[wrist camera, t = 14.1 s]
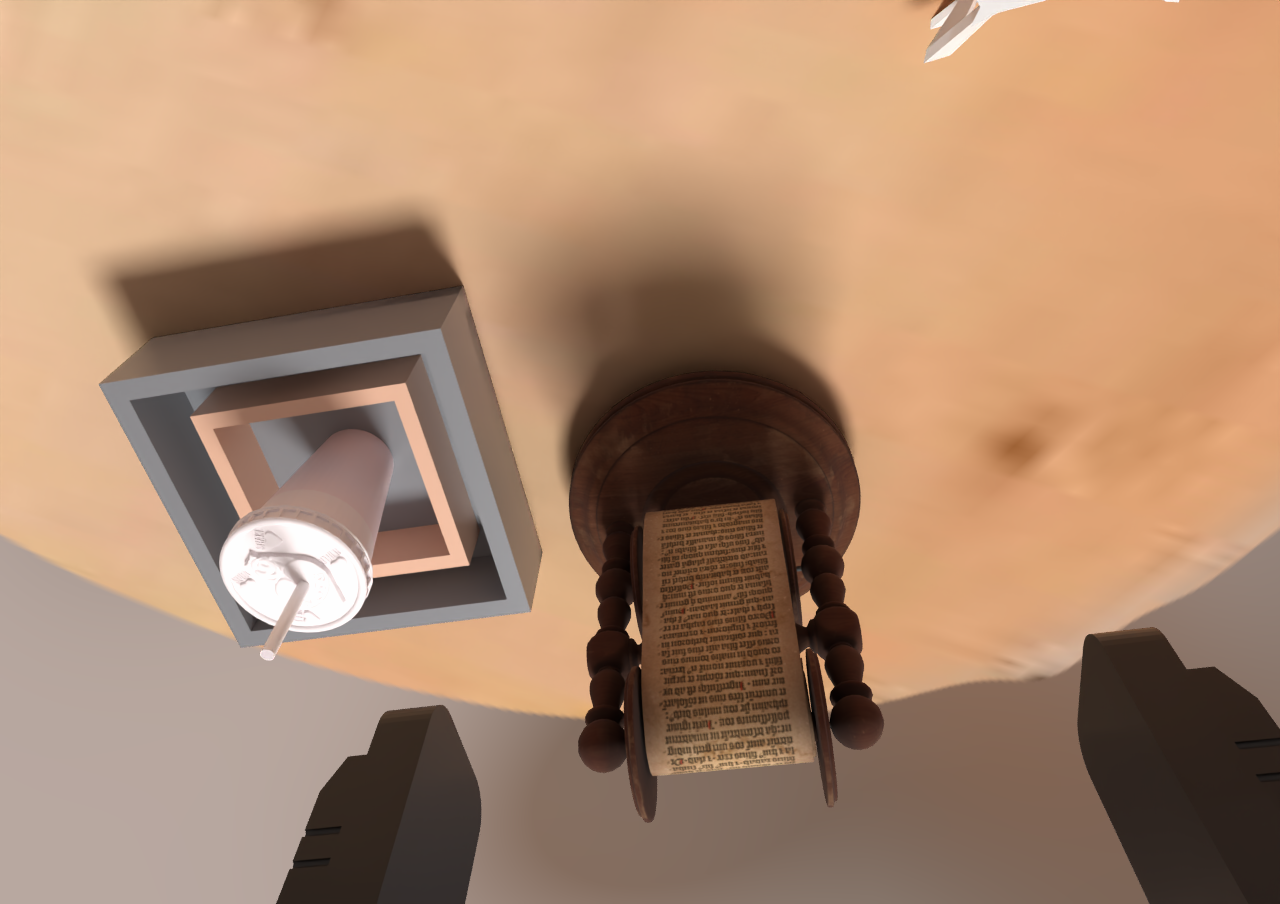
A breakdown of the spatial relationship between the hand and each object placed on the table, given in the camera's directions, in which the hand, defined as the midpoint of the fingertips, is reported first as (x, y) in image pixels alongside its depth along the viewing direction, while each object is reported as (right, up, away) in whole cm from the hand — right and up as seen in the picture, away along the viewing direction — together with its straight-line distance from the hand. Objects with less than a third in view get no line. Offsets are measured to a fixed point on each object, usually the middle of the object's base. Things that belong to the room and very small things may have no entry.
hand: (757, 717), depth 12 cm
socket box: (-16, +3, +37) cm, 41 cm away
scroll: (+2, +2, +38) cm, 38 cm away
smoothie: (-16, +3, +36) cm, 40 cm away
